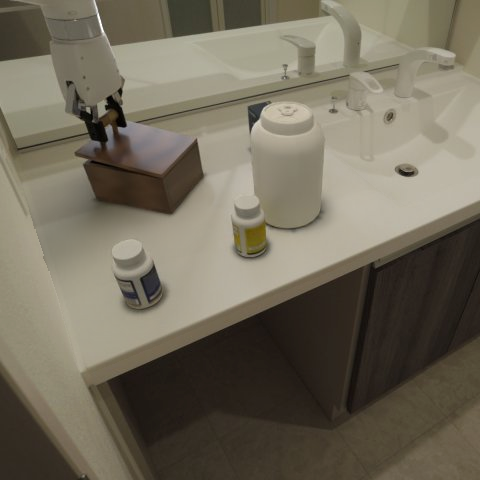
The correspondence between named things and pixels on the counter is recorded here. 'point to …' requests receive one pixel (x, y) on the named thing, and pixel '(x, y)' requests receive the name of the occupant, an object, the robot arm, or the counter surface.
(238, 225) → the supplement bottle
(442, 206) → the counter surface
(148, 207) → the chest
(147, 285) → the pill bottle
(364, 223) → the counter surface
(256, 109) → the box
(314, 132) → the white canister
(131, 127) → the lid
